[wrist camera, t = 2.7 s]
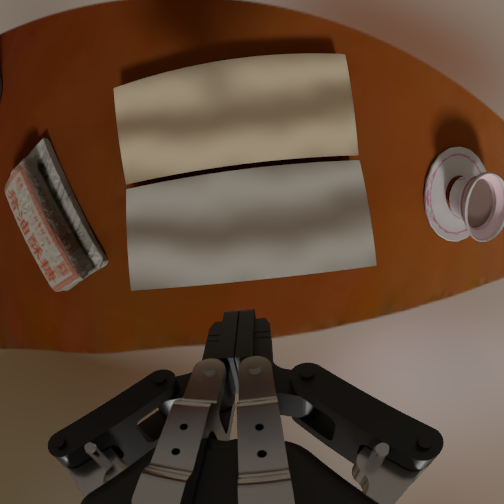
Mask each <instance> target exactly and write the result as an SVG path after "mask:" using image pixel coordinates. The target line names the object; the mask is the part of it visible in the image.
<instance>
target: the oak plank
mask: <svg viewBox="0 0 504 504" xmlns="http://www.w3.org/2000/svg"><path fill="white" fill-rule="evenodd" d="M114 99H115V110H116V119H117V128H118V136H119V143H120V150H121V157H122V163H123V169H124V175H125V180H126V184H131V183H135V182H140V181H145V180H149V179H154V178H159V177H164V176H170V175H175V174H181V173H186V172H192V171H198V170H204V169H211V168H217V167H224V166H232V165H239V164H247V163H256V162H265V161H275V160H285V159H297V158H311V157H327V156H350V155H358V144H357V133H356V124H355V115H354V107H353V99H352V92H351V85H350V79H349V73H348V67H347V62H346V56H345V54H322V53H304V54H278V55H264V56H253V57H244V58H236V59H229V60H222V61H216V62H211V63H205V64H200V65H195V66H190V67H185V68H181V69H177V70H173V71H169V72H165V73H161V74H157V75H154V76H150V77H147V78H143V79H140V80H137V81H134V82H131V83H128V84H125V85H122V86H119V87H116V88H114Z"/></svg>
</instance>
